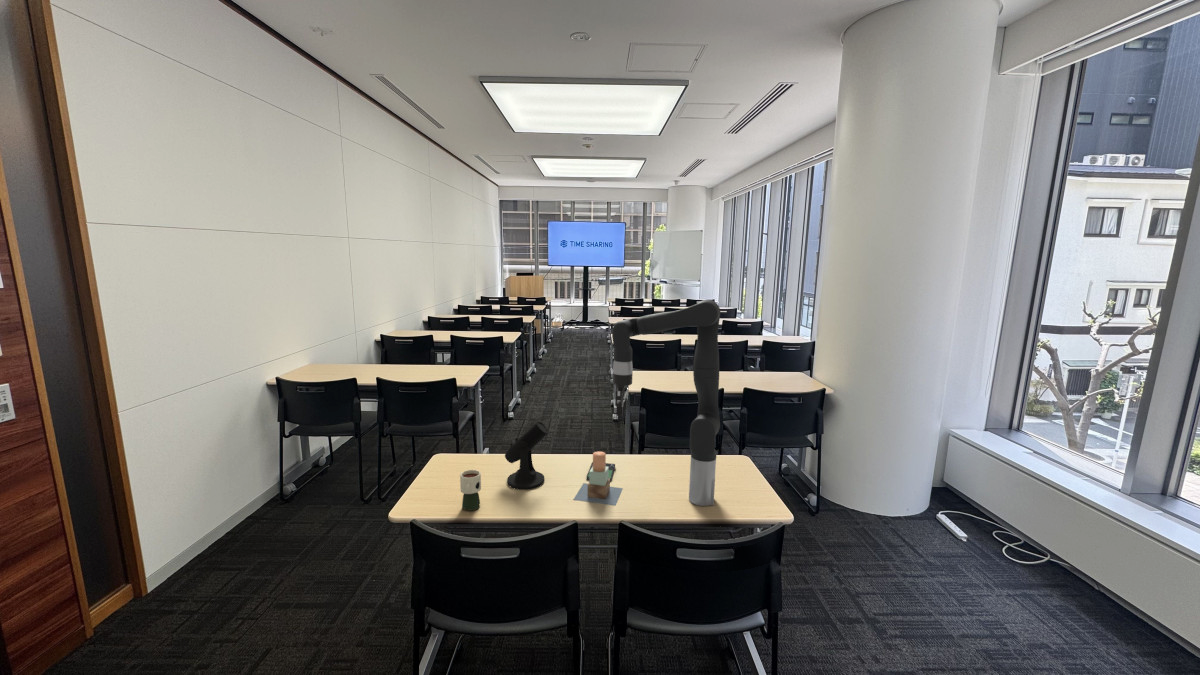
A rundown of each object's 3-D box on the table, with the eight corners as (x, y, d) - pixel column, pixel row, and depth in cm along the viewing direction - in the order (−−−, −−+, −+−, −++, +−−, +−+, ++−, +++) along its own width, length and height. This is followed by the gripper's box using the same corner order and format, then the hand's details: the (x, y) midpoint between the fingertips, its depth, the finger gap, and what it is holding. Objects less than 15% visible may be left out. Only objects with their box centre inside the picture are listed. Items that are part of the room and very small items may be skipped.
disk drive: (591, 467, 211) (586, 482, 196) (591, 461, 210) (586, 476, 196) (615, 469, 210) (611, 484, 195) (615, 463, 209) (611, 478, 195)
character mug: (478, 515, 169) (477, 480, 167) (457, 515, 169) (456, 480, 167) (483, 500, 180) (483, 467, 178) (464, 500, 179) (463, 467, 177)
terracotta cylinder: (606, 467, 185) (606, 452, 184) (603, 472, 180) (604, 457, 179) (594, 465, 186) (594, 450, 185) (591, 470, 181) (591, 455, 180)
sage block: (608, 479, 186) (608, 466, 185) (604, 486, 180) (605, 473, 179) (593, 477, 187) (593, 464, 187) (589, 484, 182) (589, 471, 181)
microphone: (545, 490, 188) (545, 428, 184) (501, 489, 189) (500, 427, 185) (550, 473, 203) (550, 416, 199) (509, 472, 203) (508, 415, 199)
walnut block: (609, 490, 187) (610, 478, 186) (605, 499, 180) (605, 486, 180) (592, 488, 189) (592, 476, 188) (587, 496, 182) (587, 484, 181)
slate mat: (622, 490, 190) (622, 488, 189) (615, 507, 176) (615, 505, 176) (583, 485, 193) (583, 483, 193) (573, 501, 180) (573, 499, 180)
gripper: (629, 376, 179) (627, 419, 181) (635, 368, 192) (634, 408, 195) (609, 375, 181) (608, 417, 183) (616, 367, 194) (616, 406, 197)
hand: (621, 412), depth 189 cm, fingers open, 8 cm apart
